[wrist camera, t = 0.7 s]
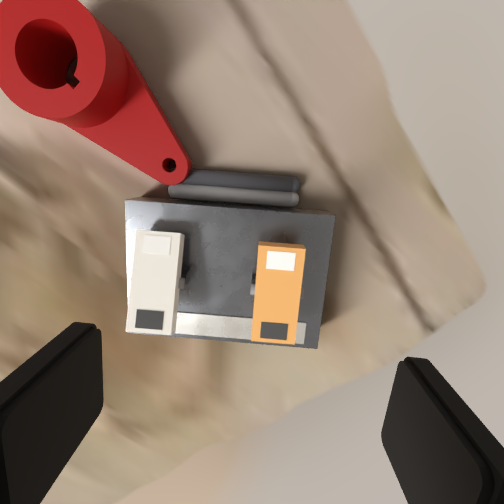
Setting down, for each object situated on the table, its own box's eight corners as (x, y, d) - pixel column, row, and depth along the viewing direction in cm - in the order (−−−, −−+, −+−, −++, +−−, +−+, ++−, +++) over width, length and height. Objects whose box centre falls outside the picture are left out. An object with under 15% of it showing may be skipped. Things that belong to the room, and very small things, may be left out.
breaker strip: (140, 196, 34) (117, 201, 29) (327, 210, 34) (339, 218, 28) (142, 316, 38) (121, 340, 32) (311, 330, 37) (319, 357, 32)
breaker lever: (254, 240, 29) (253, 245, 27) (307, 244, 29) (310, 249, 27) (247, 330, 31) (246, 340, 29) (297, 334, 31) (299, 345, 29)
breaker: (139, 232, 30) (131, 229, 28) (189, 236, 30) (184, 233, 28) (129, 327, 30) (120, 331, 28) (180, 331, 30) (175, 335, 28)
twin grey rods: (170, 167, 33) (166, 166, 32) (300, 176, 33) (302, 177, 31) (170, 197, 34) (165, 198, 32) (297, 206, 34) (298, 208, 32)
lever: (25, 80, 32) (-37, 54, 25) (84, 3, 30) (35, -46, 23) (157, 211, 34) (133, 218, 27) (219, 147, 32) (208, 138, 26)
